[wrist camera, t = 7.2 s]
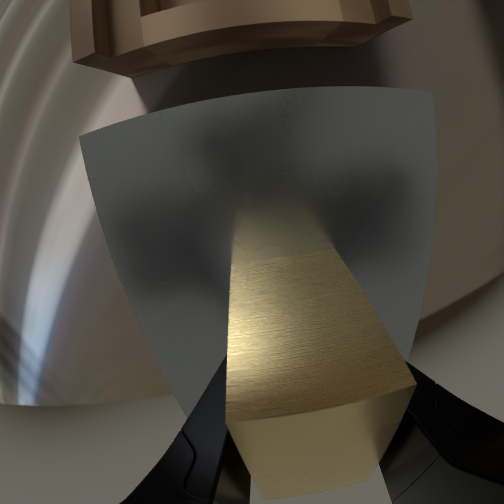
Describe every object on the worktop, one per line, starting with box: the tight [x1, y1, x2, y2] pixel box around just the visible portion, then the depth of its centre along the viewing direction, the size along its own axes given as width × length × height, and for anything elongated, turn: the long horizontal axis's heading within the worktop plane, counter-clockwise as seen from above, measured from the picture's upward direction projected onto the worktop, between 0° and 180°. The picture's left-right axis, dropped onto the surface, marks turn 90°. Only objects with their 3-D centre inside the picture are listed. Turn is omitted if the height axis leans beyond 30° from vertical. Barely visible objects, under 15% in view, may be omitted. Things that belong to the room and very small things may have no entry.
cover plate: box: [79, 86, 437, 500], centre depth 7 cm, size 10×14×6 cm
